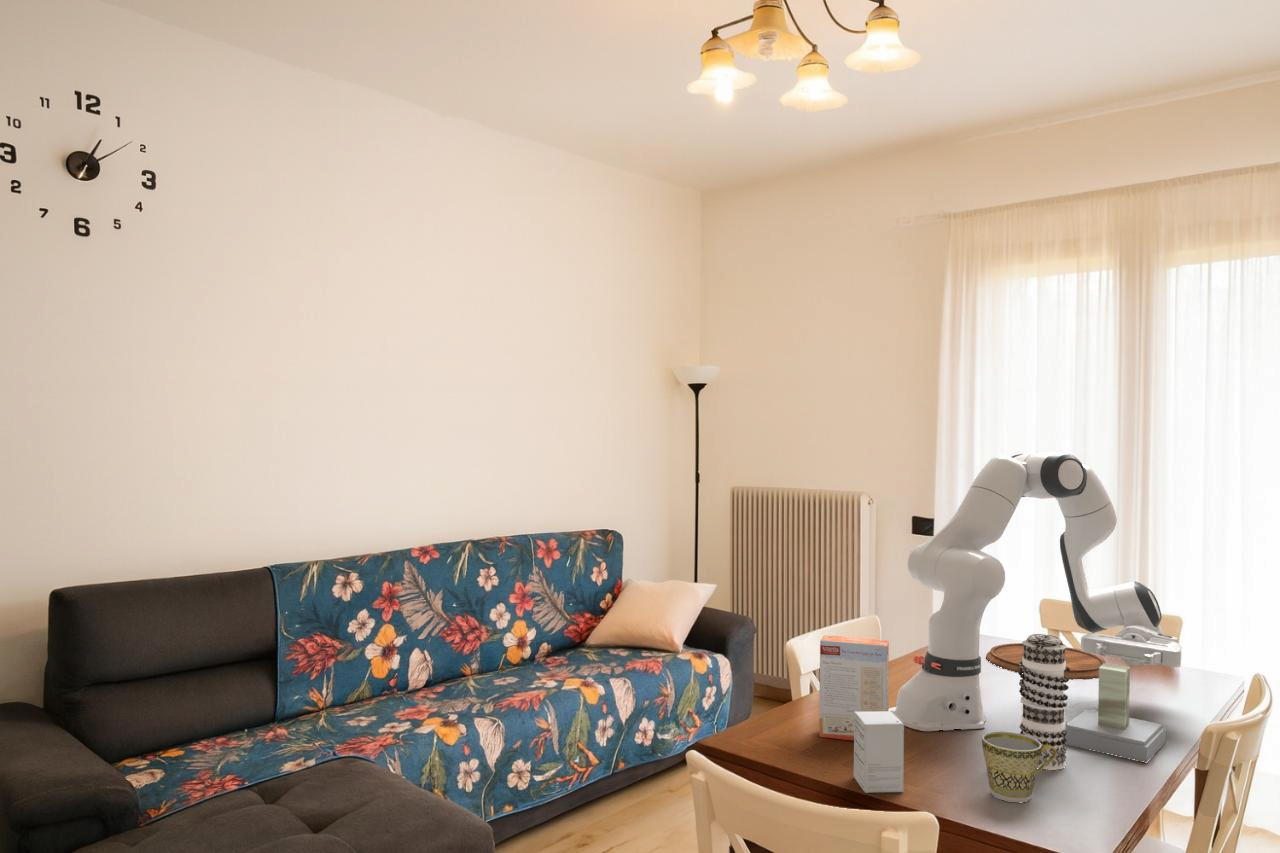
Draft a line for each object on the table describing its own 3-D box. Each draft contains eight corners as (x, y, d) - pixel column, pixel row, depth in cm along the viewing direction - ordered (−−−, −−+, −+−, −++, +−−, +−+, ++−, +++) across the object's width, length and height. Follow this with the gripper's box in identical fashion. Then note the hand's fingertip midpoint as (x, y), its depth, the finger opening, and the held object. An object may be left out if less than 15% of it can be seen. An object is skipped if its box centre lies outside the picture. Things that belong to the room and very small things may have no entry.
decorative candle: (1024, 750, 184) (1026, 629, 184) (1073, 761, 178) (1075, 636, 178) (1011, 763, 176) (1012, 636, 176) (1061, 775, 171) (1062, 644, 171)
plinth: (1146, 763, 177) (1147, 743, 177) (1061, 743, 188) (1061, 724, 188) (1165, 743, 189) (1165, 724, 189) (1084, 725, 200) (1084, 707, 200)
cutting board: (961, 656, 260) (961, 648, 260) (1040, 646, 274) (1040, 638, 274) (1054, 686, 231) (1054, 676, 231) (1136, 673, 245) (1136, 664, 245)
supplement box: (891, 777, 169) (892, 710, 169) (904, 793, 161) (905, 723, 161) (852, 777, 168) (853, 710, 168) (863, 793, 161) (864, 723, 161)
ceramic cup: (992, 807, 156) (993, 749, 156) (973, 784, 166) (973, 730, 166) (1068, 809, 155) (1068, 751, 155) (1043, 786, 165) (1044, 732, 165)
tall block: (1124, 730, 185) (1125, 672, 185) (1098, 724, 188) (1098, 667, 188) (1129, 723, 189) (1129, 667, 189) (1103, 718, 192) (1103, 663, 192)
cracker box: (888, 736, 191) (889, 639, 191) (886, 746, 185) (887, 645, 185) (822, 728, 195) (823, 633, 195) (818, 737, 190) (819, 639, 190)
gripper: (1087, 624, 215) (1074, 633, 204) (1186, 639, 202) (1177, 649, 192) (1086, 650, 215) (1073, 661, 204) (1185, 666, 202) (1176, 678, 192)
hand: (1124, 655), depth 198 cm, fingers open, 8 cm apart
